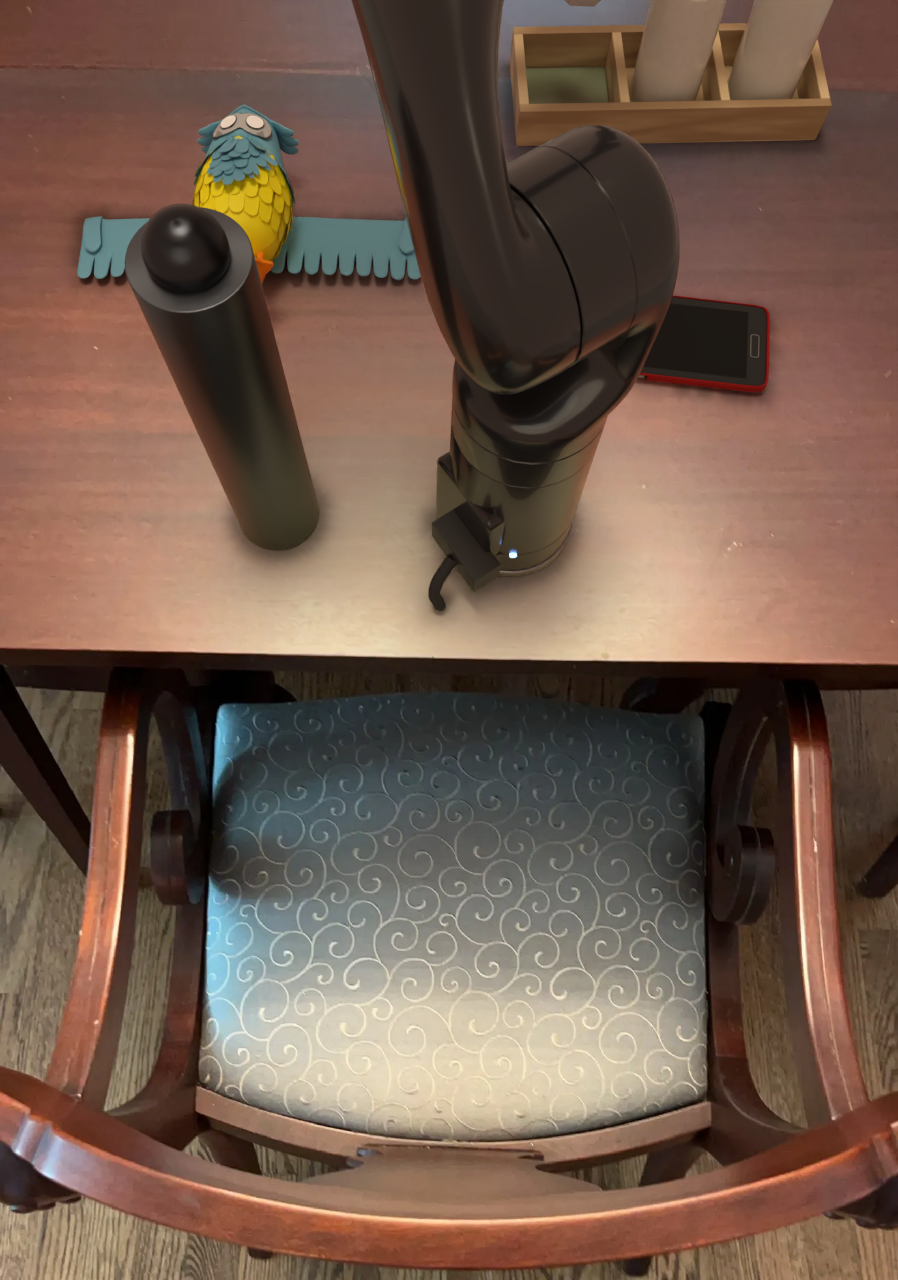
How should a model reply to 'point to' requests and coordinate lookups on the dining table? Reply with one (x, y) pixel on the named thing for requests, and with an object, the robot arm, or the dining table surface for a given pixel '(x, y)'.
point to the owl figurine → (262, 211)
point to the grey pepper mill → (226, 365)
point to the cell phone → (711, 345)
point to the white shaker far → (776, 48)
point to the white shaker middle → (675, 49)
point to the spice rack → (599, 95)
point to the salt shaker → (583, 2)
